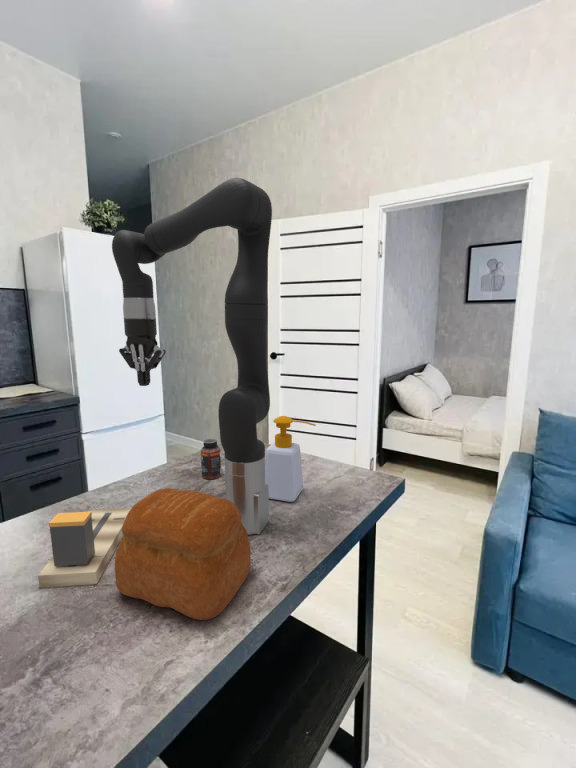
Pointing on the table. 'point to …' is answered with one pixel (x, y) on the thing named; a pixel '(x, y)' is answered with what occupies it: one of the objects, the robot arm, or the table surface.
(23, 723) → the table surface
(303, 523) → the table surface
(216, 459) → the supplement bottle
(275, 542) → the table surface
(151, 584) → the bread
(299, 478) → the soap bottle
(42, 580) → the grooved wooden slider track
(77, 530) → the fader knob
